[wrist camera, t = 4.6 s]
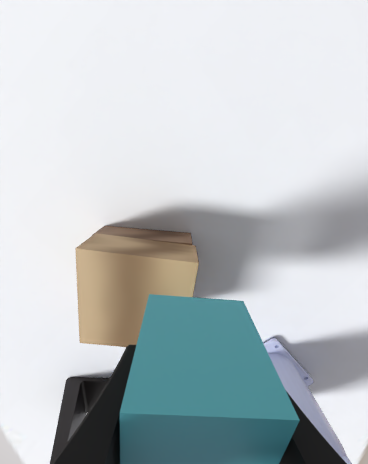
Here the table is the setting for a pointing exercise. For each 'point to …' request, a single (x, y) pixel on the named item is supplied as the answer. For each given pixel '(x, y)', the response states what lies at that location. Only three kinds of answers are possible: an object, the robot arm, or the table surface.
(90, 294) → the tower top
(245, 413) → the teal cube
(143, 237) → the tower base
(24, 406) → the table surface
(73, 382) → the phone stand
